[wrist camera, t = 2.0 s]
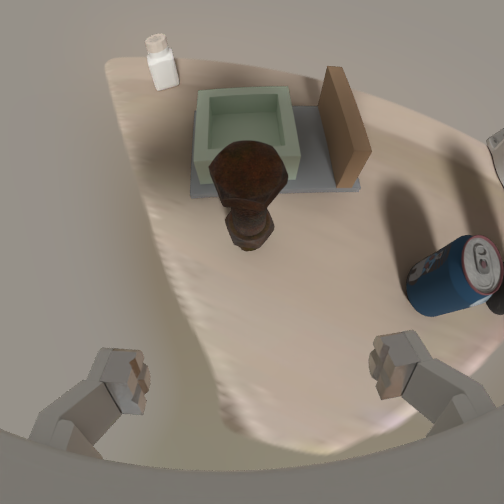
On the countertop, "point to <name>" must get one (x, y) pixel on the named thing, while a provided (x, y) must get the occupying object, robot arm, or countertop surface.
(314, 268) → the countertop surface
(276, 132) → the socket block
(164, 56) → the pepper shaker
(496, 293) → the travel mug
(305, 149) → the backstop board
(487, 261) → the soda can
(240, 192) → the bolt
